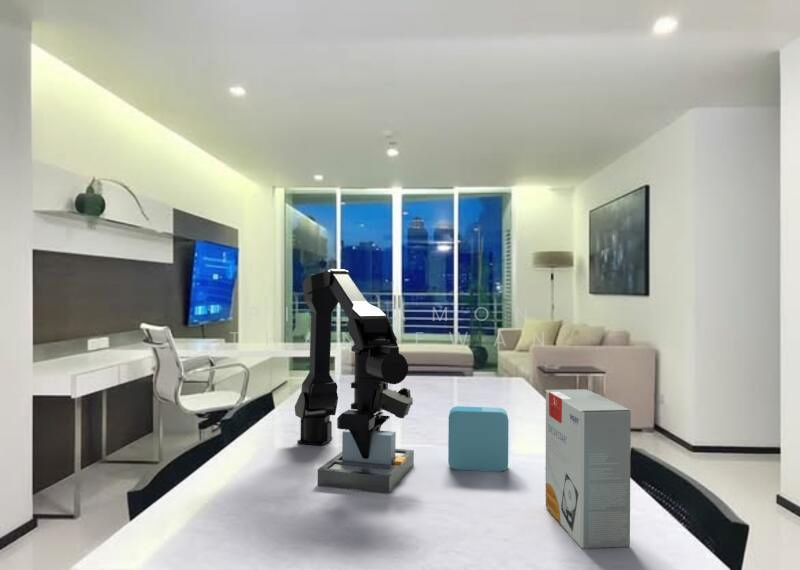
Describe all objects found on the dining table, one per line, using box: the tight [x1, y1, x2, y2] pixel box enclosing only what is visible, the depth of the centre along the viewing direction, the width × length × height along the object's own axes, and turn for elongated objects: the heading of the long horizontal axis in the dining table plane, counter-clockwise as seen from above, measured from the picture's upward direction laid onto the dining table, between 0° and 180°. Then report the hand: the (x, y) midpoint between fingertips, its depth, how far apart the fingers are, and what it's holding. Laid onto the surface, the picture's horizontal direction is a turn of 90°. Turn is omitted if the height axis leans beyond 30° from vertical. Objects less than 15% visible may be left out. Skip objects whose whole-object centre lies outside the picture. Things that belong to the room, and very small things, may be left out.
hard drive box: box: [545, 388, 632, 549], centre depth 89 cm, size 16×8×20 cm, turn 5°
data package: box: [447, 405, 509, 473], centre depth 117 cm, size 12×4×12 cm, turn 82°
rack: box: [317, 448, 415, 495], centre depth 112 cm, size 14×17×4 cm
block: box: [341, 429, 397, 465], centre depth 112 cm, size 10×3×6 cm, turn 74°
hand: (368, 455), depth 112 cm, fingers closed on block, 3 cm apart
